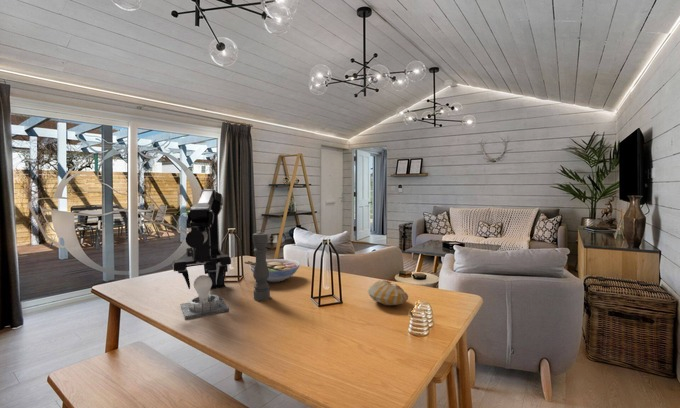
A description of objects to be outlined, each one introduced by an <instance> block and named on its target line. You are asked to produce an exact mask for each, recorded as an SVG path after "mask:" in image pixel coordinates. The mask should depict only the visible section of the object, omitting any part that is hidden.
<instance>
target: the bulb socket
mask: <svg viewBox="0 0 680 408" xmlns="http://www.w3.org/2000/svg"><path fill="white" fill-rule="evenodd" d="M180 310H181V311H182V314H183V318H184V320H189V319H195V318H200V317H205V316H209V315H214V314H220V313H224V312H225V313H226V312H229V310H230V309H229V307H228V305H227V304H226V302H225V301H224V299H223V298H222V297H221V296H218V294H209V295H208V302H204V303H200V299H199V296H198V295H197V296H194V297H191V298H189V299H188V301H187V302H185V303H184V302H183V303H180Z"/></svg>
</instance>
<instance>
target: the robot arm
mask: <svg viewBox="0 0 680 408" xmlns="http://www.w3.org/2000/svg"><path fill="white" fill-rule="evenodd" d="M199 195H200V196H199V200H198V202H197V203H196V204H193V205H192V206H191V207H190V208H189V210H188V211H187V219H186V226H185V228H186V229H191V230H190V231H189V232H188V233H187V234H186V236H185V242H186V245H187V246H188V247H189V248H186V252H185V253H186V258H187V259H188V258H191V260H189V261H188V260H186V259H185V258H183V259H182V258H181V259H174V260H173V261H172V270H173V272H177V273H178V274H181V275H182V277H183V278H184V280H185V283H186V286H187V288H188V290H190V289H191V283H190V282H191V281H190V276H189V270H188V269H187V268H188V267H189V268H191V267H196V266H203V268H204V269H203V270H204V275H207V276H209V277H210V278H211V280H212V286H211V289H210V290H212V289H218V288H219V289H220V288H225V287H226V284H225V274H226V273H227V272H228V270H229V267H228V266H229V265H232V257H230V256H229V255H228V254H224V252H223V251H222V250H221V248H220V246H221V245H220V228H219V226H220V225H219V224H220V223H219V214H220V213H221V212H222V210H223V206H224V197H223V195H222V193H220V192H218V191H216V189H214V188H204V189H201V193H200V194H199Z"/></svg>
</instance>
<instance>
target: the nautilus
mask: <svg viewBox="0 0 680 408" xmlns="http://www.w3.org/2000/svg"><path fill="white" fill-rule="evenodd" d="M393 282H394V283H395V284H392V283H393ZM367 293H368V295H369V296H370V298H371V299H372V300H373V301H374V302H378V303H380V304H382V305H384V306H399V305H402V304H404V303H406V302H407V301H408V300H409V294H408V293H407V292H405V291H404V289H403V288H402V287H401V286H400V285H398V284H396V281H395V280H390V279H388V280H387V279H383V280H377V281H375V282H374V283H373V284H372V285H371V286H369V288H368V291H367Z"/></svg>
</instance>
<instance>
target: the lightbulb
mask: <svg viewBox="0 0 680 408" xmlns="http://www.w3.org/2000/svg"><path fill="white" fill-rule="evenodd" d="M211 286H212V280H211V278H210V277H209V276H208V275H207V274H202V275H199V276H197V277H196V278H195V279H194V281H193V288H194V290H195V291H196V293H197V296H199V299H200V303H204V302H208V295H210V290H212V289H211Z"/></svg>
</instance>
